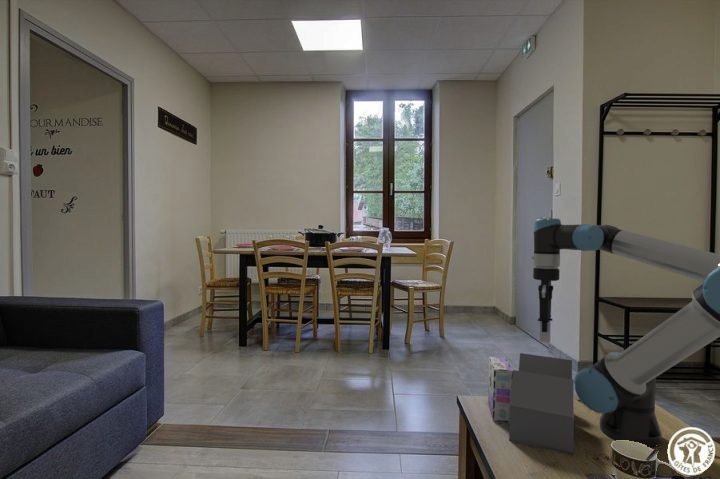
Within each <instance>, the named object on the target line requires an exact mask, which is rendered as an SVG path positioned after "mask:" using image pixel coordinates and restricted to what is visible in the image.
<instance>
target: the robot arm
mask: <svg viewBox="0 0 720 479" xmlns="http://www.w3.org/2000/svg"><path fill="white" fill-rule="evenodd" d="M561 221H562V220H561V219H560V218H556V217H555V218H537V219H536V220H535V221H534V227H533V228H534V229H533V244H534V245H533V247H534V248H533V256H531V259H532V260H533V266H535V267H534V268H533V270H532V274H533V276H532V278H533V279H534V280H537V281H540V284H539V285H538V299H539V318H537V322H540V323H539V342H542V343H548V344H549V343H550V339H551V338H550V336H551V335H550V334H551V322H553V320H554V319H553V318H551V317H552V315H551V313H552V299H553V291H554V285H552V282H556V281H559V280H560V268H559V267H560V266H561V250H572V251H583V252H589V251H591V252H592V251H598V250H599V251H604V252H606V253H610V254H613V255H617V256H620V257H623V258H626V259H629V260H634V261H635V262H636V261H637V262H639V263H643V264H645V265H649V266H652V267H656V268H658V269H659V268H660V269H661V270H665V271H668V272H672V273H675V274H678V275H681V276H684V277H687V278H690V279H693V280H698V281H700V282H703V283H702V284H701V285H700V286H698V287H697V288H695V289H694V290H693V291H691V299H692V300H691V301H690V302H689V303H688V304H687V305H685V306H684V307H682V308H681V309H679V310H678V311H676V312H675V313H673V314H672V315H671V316H669V318H667V319H666V320H664V321H662V322H661V323H660V324H659V325H657V326H656V327H654V328H653V329H652V330H651V331H649V332H648V333H647V334H645V335H644V336H643V337H641V338H639V339H638V340H637V341H635V342H634V343H633V344H631V345H630V346H628V347H627V348H626V349H624V350H623V351H622V352H617V351H616V352H615V351H612V352H609V353H608V354H606V355H605V356H604V357H602V358H601V359H600V360H597V362H596V363H594V364H593V365H591V366H590V367H584V368H582V369H581V370H579V371H578V372H577V373H576V374H575V376H574V379H573V380H574V390H575V393H576V395H577V397H578V399H579V400H580V401H581V403H582V404H583V405H584V406H585V407H586V408H588V409H589V410H591V411H594V412H596V413H600V414H601V416H600V417H599V418H600V419H599V429H600V431H601V432H602V433H604V435H606V436H608V437H609V438H611V439H613V440H616V441H618V440H629V441H634V442H639V443H642V444H645V445H647V446H651V447H650V448H654V447H657V446H656V445H658V446H660V445H661V444H662V443H663V442H662V441H663V440H662V439H663V434H662V431H661V427H660V425H659V422H658V419H657V415H656V409H655V408H656V406H655V405H656V386H657V385H656V383H657V377H659V376H660V375H661V374H663V373H665V372H666V371H667V370H669V369H672V367H674V366H676V365H677V364H679V363H680V362H682V361H684V360H685V359H687V358H689V357H690V356H691V355H693V354H694V353H696V352H698V351H699V350H701V349H703V348H704V347H705V346H707V345H709V344H711V343H712V342H714V341H715V340H717V339H718V338H720V254H719V253H714V252H710V251H707V250H704V249H703V250H702V249H700V248H696V247H695V248H694V247H691V246H688V245H683V244H679V243H675V242H670V241H668V240H664V239H660V238H655V237H652V236H648V235H644V234H640V233H638V232H637V233H636V232H634V231H633V232H632V231H629V230H623V229H620V228H618V227H616V226H614V225H610V224H602V225H601V224H589V223H588V224H587V223H584V224H583V223H582V224H562V222H561ZM659 444H660V445H659Z"/></svg>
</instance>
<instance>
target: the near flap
mask: <svg viewBox="0 0 720 479" xmlns="http://www.w3.org/2000/svg"><path fill="white" fill-rule="evenodd" d="M512 370H513V376H512V389H511V403H510V406H515V407H520V408H525V409H530V410H535V411H540V412H545V413H550V414H555V415H560V416H566V417H571V418H573V408H574V390H575V383H574V379H573V378H572V379H566V378H560V377H554V376H548V375H541V374H535V373H529V372H522V371H519V370H515V369H512Z"/></svg>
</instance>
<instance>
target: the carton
mask: <svg viewBox="0 0 720 479" xmlns="http://www.w3.org/2000/svg"><path fill="white" fill-rule="evenodd" d="M574 408H575V407H573V418H571V417H566V416H560V415H555V414H550V413H545V412H540V411H535V410H530V409H525V408H520V407H515V406H510V419H509V423H508V424H509V428H508V429H509V432H508V435H509V436H508V441H510V442H512V443H513V442H514V443H519V444H523V445H526V446H532V447H535V448H539V449H545V450H548V451H552V452H557V453H560V454H565V455H570V456H574V442H575V441H574V439H575V438H574V436H575V434H574V432H575V430H574V429H575V428H574V427H575V415H574V414H575V412H574V411H575V410H574Z"/></svg>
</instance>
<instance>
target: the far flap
mask: <svg viewBox="0 0 720 479" xmlns="http://www.w3.org/2000/svg"><path fill="white" fill-rule="evenodd" d="M518 362H519V363H518V371H522V372H529V373H535V374H541V375H548V376H554V377H560V378H566V379H573V360H572V359H565V358H560V357H559V358H558V357H551V356H544V355H543V356H542V355H536V354H531V353H523V352H522V353H521V352H520V353H519V361H518Z"/></svg>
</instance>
